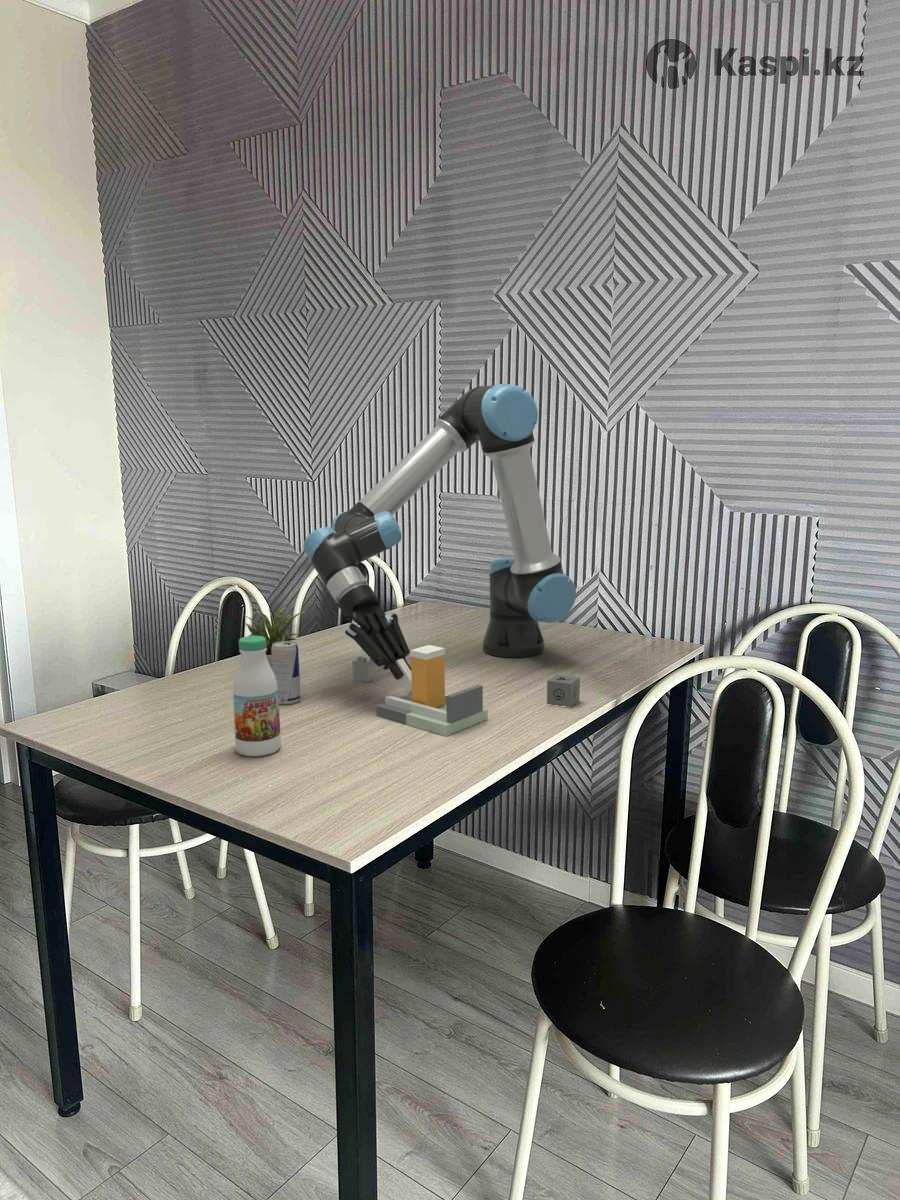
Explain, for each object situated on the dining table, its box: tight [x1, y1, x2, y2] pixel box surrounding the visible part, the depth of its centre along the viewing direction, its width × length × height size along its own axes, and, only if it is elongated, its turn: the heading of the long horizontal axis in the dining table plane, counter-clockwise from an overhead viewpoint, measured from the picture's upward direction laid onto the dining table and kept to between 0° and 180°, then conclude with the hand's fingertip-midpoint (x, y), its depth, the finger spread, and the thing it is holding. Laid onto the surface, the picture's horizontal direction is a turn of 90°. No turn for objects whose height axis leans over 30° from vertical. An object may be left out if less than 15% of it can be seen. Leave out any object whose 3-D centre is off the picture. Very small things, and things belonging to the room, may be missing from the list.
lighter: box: [352, 655, 380, 683], centre depth 194 cm, size 7×2×8 cm, turn 63°
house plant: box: [244, 606, 307, 671], centre depth 197 cm, size 14×14×16 cm
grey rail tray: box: [375, 684, 489, 737], centre depth 170 cm, size 18×12×7 cm, turn 49°
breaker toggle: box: [409, 644, 446, 708], centre depth 170 cm, size 4×5×11 cm
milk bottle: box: [232, 635, 282, 757], centre depth 153 cm, size 8×8×20 cm
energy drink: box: [271, 640, 301, 705], centre depth 181 cm, size 5×5×12 cm
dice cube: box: [546, 674, 581, 707], centre depth 178 cm, size 5×5×5 cm
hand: (413, 690), depth 172 cm, fingers closed
